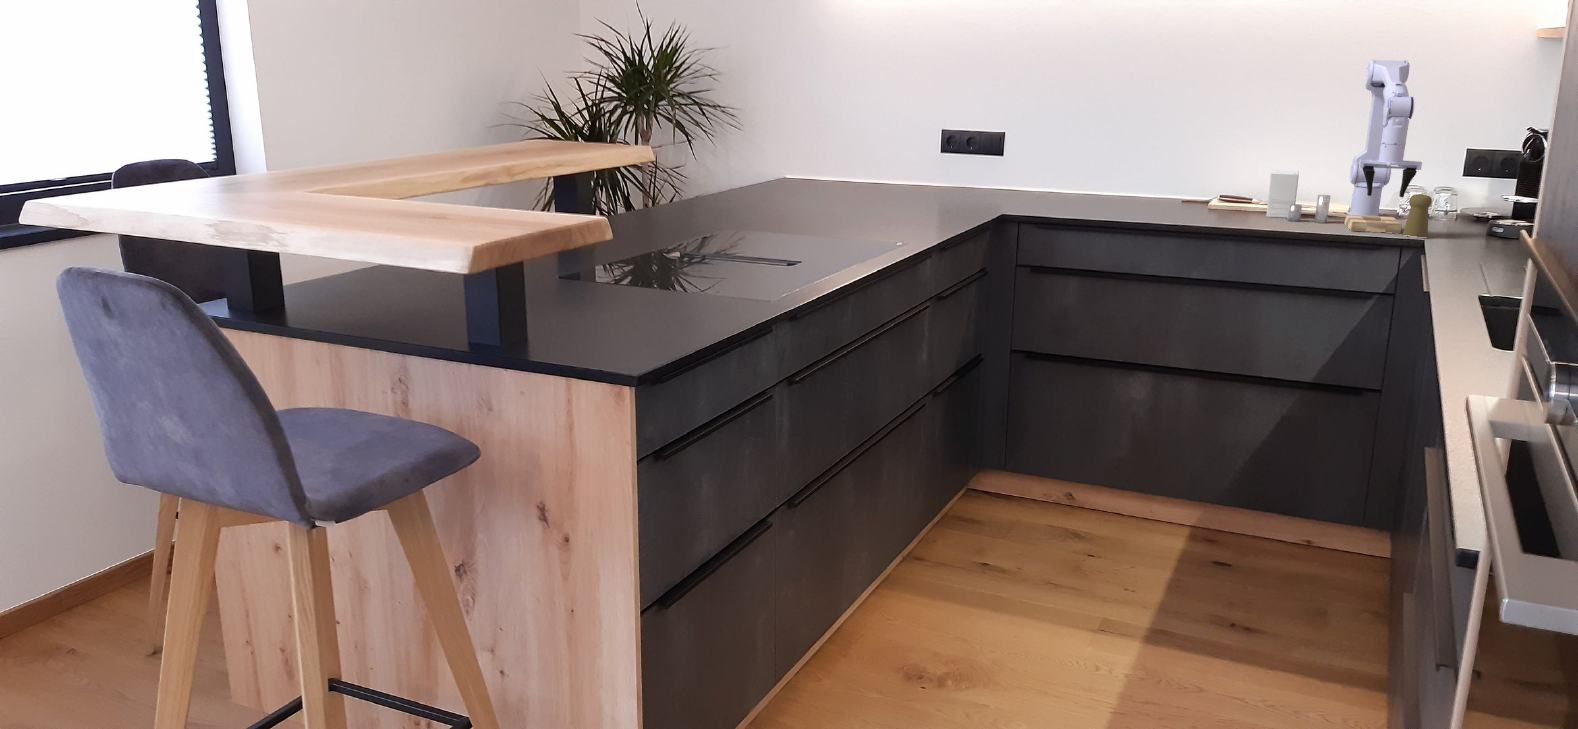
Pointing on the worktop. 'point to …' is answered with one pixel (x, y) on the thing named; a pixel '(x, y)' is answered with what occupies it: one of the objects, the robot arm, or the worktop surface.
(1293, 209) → the short pin
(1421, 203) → the cork
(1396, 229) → the oak frame
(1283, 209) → the supplement box
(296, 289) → the worktop surface
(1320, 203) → the long pin
